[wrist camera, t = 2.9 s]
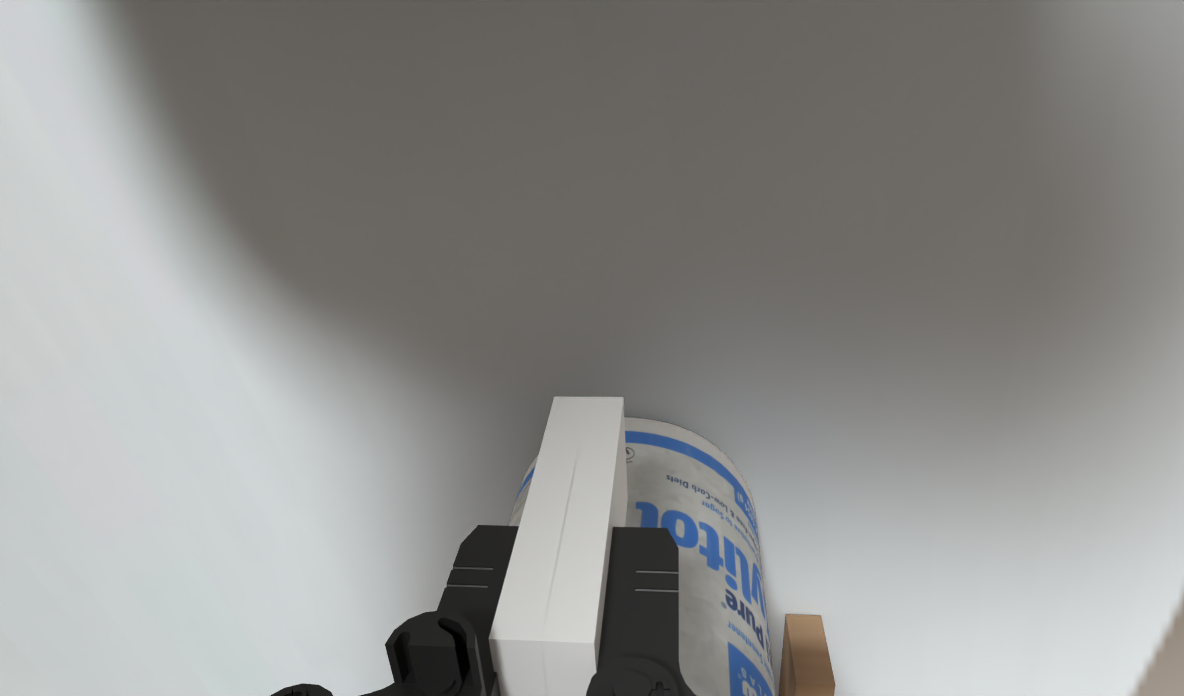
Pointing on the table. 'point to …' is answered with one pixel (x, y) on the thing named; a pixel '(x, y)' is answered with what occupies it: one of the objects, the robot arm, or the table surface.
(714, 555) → the supplement tub
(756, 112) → the table surface
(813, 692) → the bay
